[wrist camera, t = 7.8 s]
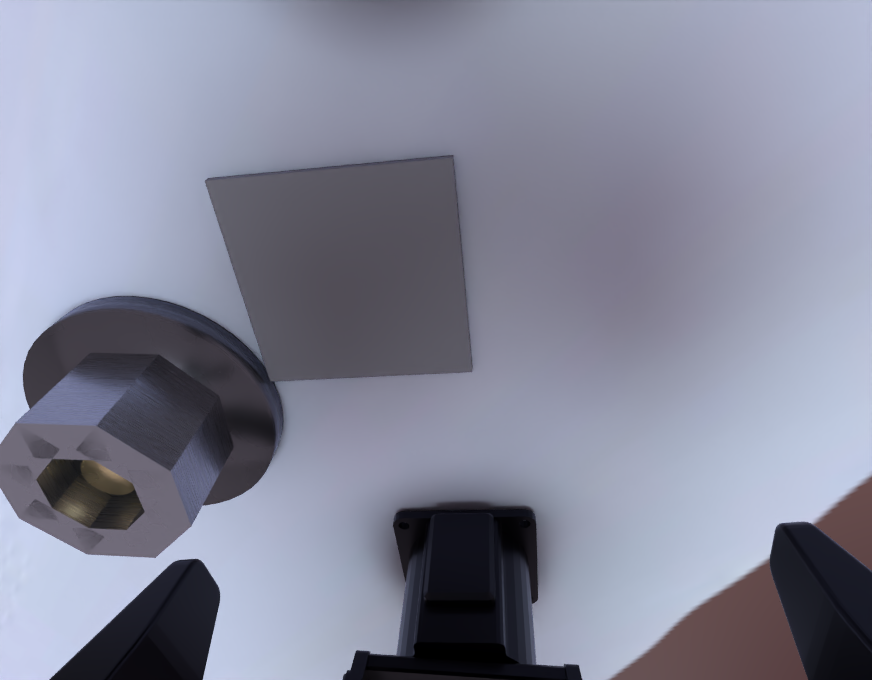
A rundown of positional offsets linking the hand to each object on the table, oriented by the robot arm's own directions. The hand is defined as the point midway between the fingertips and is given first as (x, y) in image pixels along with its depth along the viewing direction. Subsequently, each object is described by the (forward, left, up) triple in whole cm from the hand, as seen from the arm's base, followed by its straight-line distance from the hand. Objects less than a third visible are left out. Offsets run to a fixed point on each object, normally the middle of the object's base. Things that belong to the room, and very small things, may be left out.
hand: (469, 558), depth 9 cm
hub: (-6, +14, -12) cm, 19 cm away
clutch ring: (-6, +14, -11) cm, 18 cm away
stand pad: (-1, +5, -12) cm, 13 cm away
